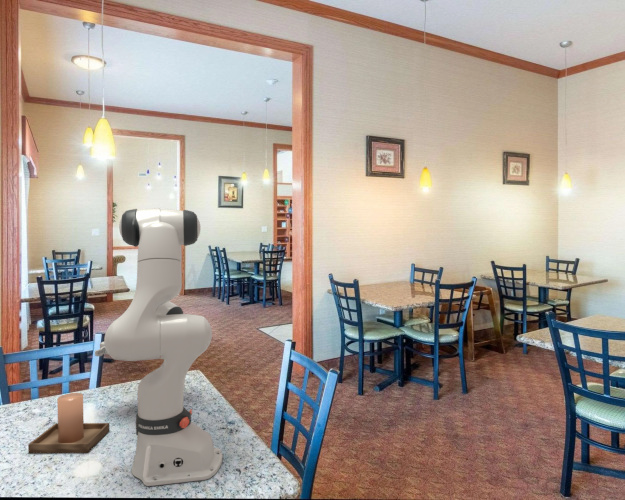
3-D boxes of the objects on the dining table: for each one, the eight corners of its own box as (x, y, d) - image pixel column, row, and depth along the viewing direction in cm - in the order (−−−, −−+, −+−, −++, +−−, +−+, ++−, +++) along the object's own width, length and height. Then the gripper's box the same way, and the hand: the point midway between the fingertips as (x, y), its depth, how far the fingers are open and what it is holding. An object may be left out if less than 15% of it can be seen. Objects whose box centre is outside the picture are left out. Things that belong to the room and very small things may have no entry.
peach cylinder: (88, 432, 127) (87, 392, 126) (76, 443, 120) (75, 401, 120) (66, 432, 127) (65, 392, 126) (53, 443, 120) (52, 401, 120)
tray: (109, 431, 130) (109, 423, 130) (88, 453, 117) (87, 444, 117) (55, 431, 130) (55, 423, 130) (28, 453, 117) (28, 444, 117)
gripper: (121, 332, 149) (84, 342, 137) (163, 337, 140) (128, 349, 128) (122, 349, 150) (85, 361, 138) (164, 356, 140) (129, 370, 128)
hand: (106, 355), depth 133 cm, fingers open, 8 cm apart
